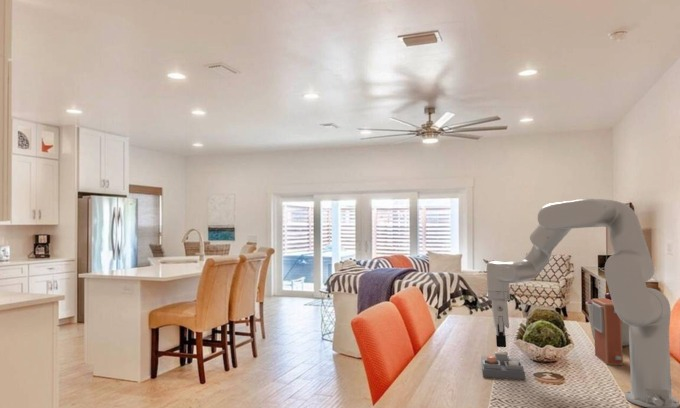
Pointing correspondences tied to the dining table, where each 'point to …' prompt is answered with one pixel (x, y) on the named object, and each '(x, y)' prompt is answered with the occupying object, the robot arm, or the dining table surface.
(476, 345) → the dining table surface
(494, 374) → the switch board
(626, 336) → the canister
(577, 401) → the dining table surface
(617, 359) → the control panel
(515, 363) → the white button
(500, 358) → the paddle
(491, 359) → the terracotta button
